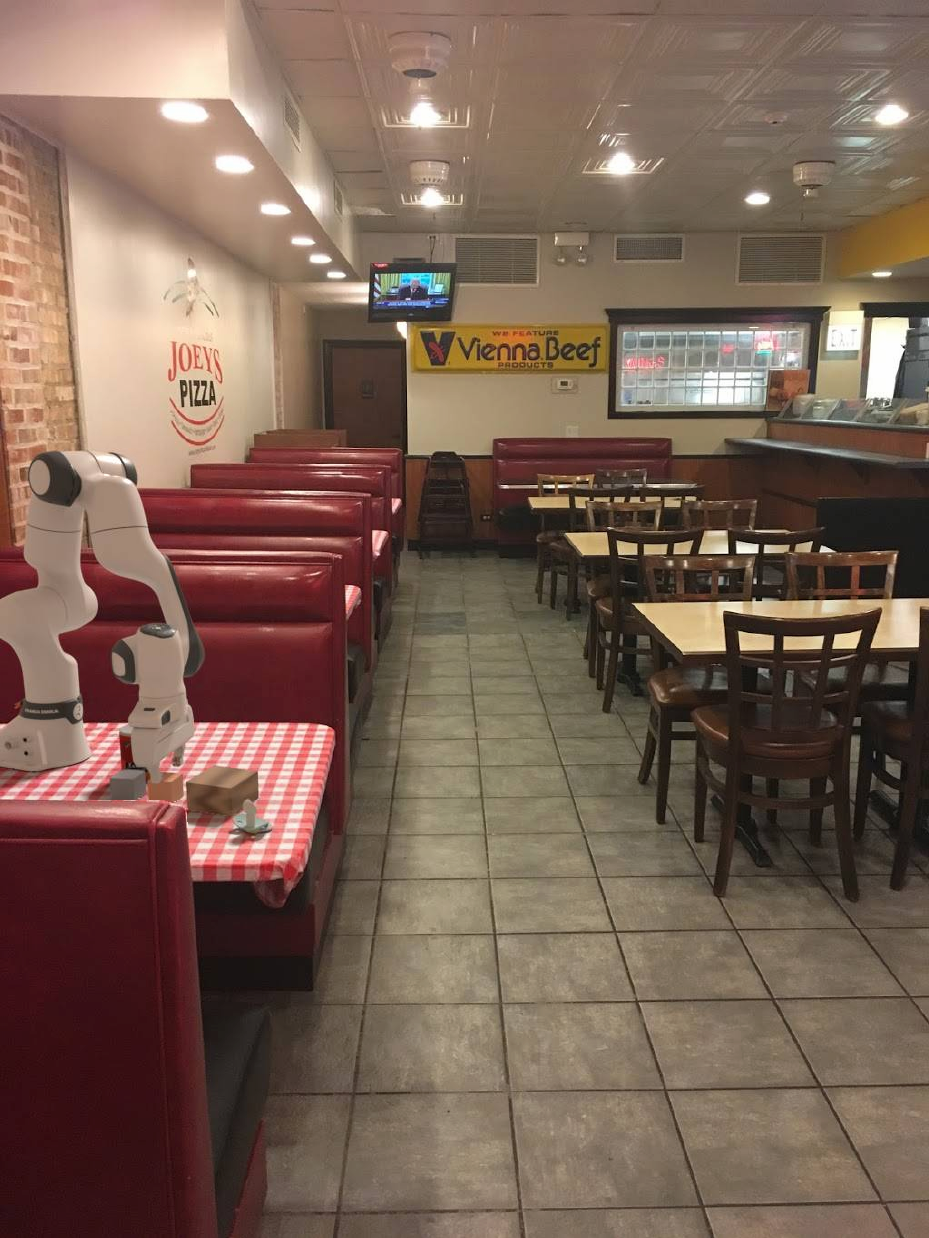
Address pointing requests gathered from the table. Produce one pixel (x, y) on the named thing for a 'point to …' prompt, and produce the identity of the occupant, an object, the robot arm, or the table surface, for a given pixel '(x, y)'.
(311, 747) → the table surface
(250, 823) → the pacifier
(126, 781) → the gray metal cube
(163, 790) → the terracotta cube
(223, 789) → the walnut block
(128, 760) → the canned food
